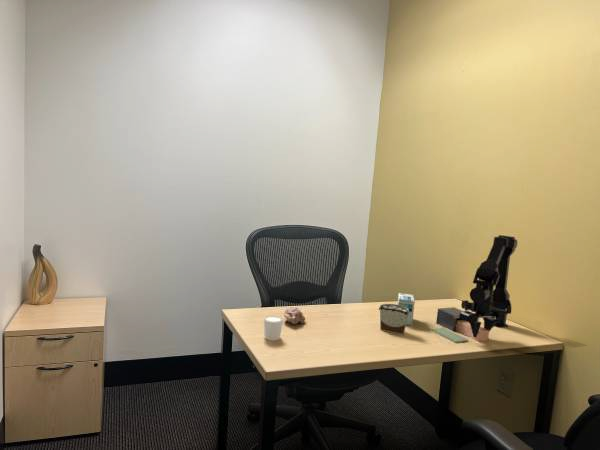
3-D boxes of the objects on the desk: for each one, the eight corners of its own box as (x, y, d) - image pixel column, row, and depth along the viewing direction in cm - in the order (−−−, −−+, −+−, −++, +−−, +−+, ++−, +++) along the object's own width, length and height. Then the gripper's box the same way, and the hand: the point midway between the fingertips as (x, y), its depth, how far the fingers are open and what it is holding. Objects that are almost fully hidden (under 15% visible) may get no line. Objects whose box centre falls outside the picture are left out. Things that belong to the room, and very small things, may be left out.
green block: (443, 329, 193) (443, 327, 193) (468, 341, 181) (468, 339, 181) (431, 330, 191) (431, 328, 191) (455, 342, 178) (455, 341, 178)
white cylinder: (267, 341, 165) (268, 322, 164) (260, 335, 171) (261, 316, 170) (284, 339, 168) (286, 321, 168) (276, 333, 174) (278, 315, 174)
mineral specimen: (312, 322, 185) (305, 308, 183) (296, 333, 183) (289, 320, 180) (299, 312, 196) (292, 300, 193) (284, 323, 193) (277, 310, 191)
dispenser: (452, 321, 204) (453, 307, 204) (469, 329, 195) (470, 314, 195) (436, 323, 201) (437, 308, 200) (452, 331, 192) (454, 315, 191)
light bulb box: (412, 325, 195) (415, 300, 194) (396, 323, 196) (398, 298, 195) (411, 318, 205) (414, 294, 204) (396, 316, 207) (398, 292, 205)
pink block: (465, 329, 195) (466, 319, 195) (487, 340, 183) (489, 330, 183) (455, 329, 194) (456, 320, 193) (477, 341, 182) (478, 331, 181)
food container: (410, 331, 188) (413, 307, 187) (407, 335, 182) (409, 310, 181) (380, 324, 193) (382, 301, 192) (376, 329, 187) (379, 305, 186)
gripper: (486, 291, 193) (481, 327, 195) (451, 293, 186) (447, 331, 187) (508, 299, 183) (503, 337, 185) (472, 301, 176) (467, 341, 177)
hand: (479, 336), depth 184 cm, fingers closed on pink block, 5 cm apart
